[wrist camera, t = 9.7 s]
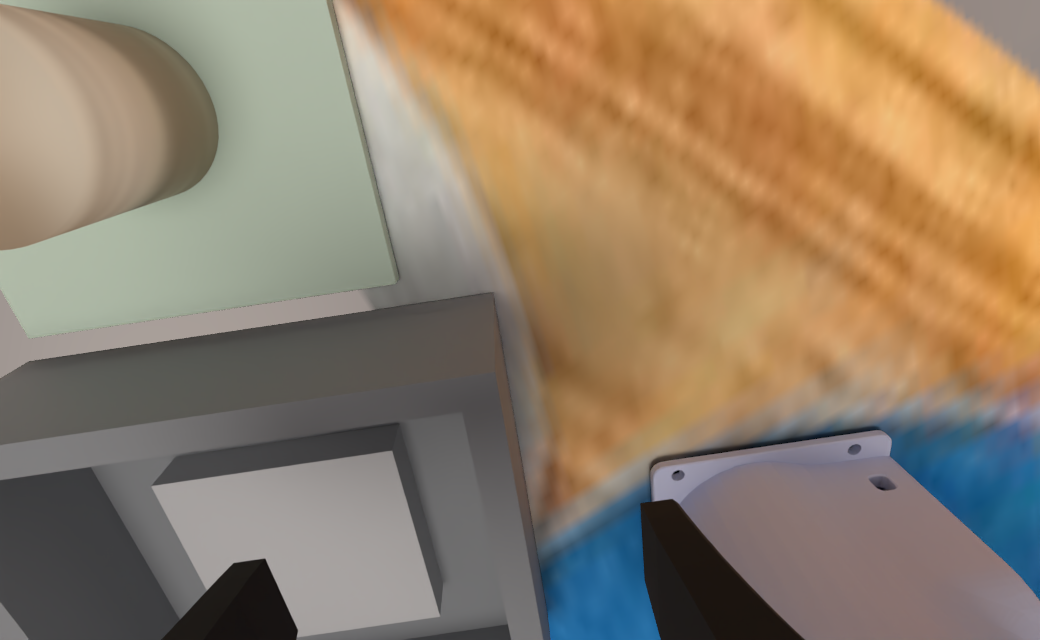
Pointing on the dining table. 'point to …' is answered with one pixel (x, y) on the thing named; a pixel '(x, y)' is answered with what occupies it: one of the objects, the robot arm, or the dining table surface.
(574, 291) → the dining table surface
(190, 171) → the cylinder
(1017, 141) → the dining table surface
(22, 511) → the box
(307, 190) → the mat
